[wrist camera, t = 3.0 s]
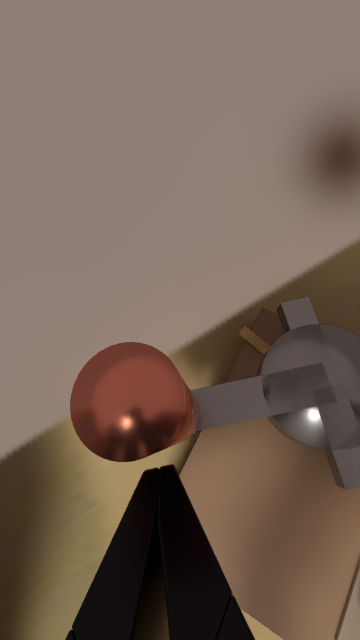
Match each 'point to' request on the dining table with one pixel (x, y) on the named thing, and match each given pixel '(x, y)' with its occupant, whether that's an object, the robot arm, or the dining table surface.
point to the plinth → (277, 517)
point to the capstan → (228, 396)
